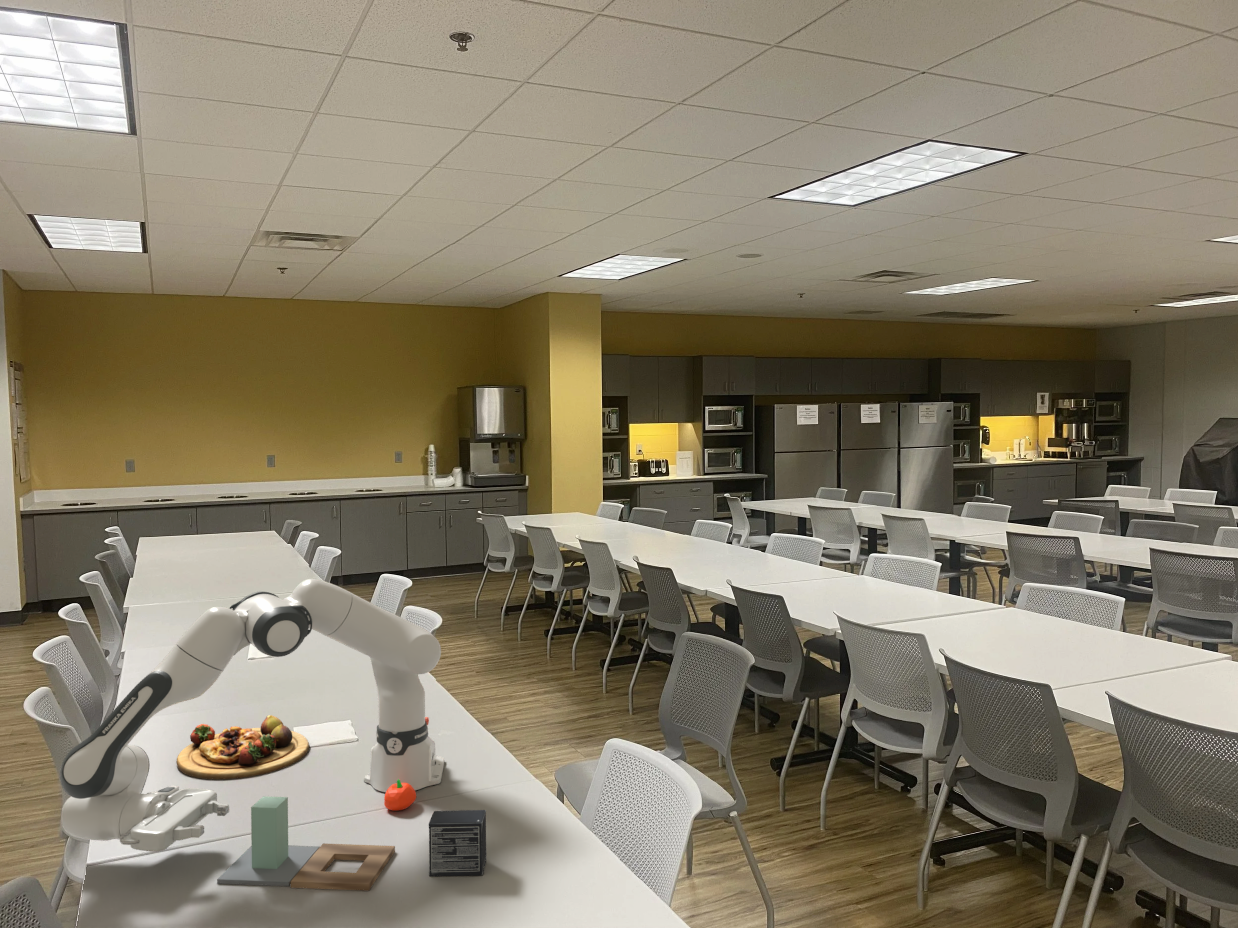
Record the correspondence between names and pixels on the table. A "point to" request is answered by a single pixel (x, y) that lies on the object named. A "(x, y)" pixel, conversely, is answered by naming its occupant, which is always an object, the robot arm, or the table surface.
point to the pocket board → (361, 880)
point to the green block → (269, 832)
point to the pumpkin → (399, 796)
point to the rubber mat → (276, 877)
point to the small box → (457, 843)
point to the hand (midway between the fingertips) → (215, 820)
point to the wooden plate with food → (241, 751)
